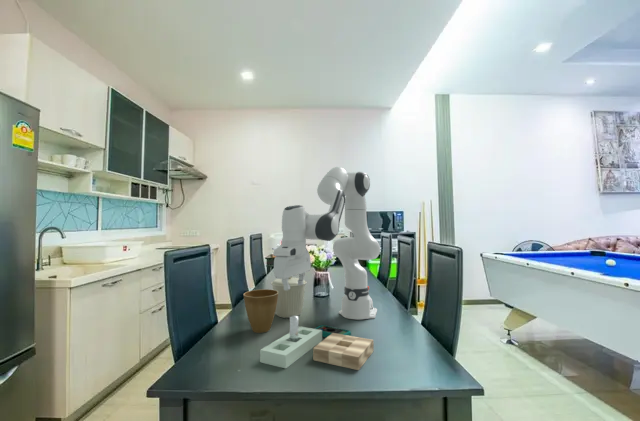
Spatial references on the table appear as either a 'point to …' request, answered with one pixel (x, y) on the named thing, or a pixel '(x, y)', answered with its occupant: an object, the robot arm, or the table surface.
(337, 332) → the digital multimeter
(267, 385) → the table surface
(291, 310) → the canister
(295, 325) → the steel peg
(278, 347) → the block
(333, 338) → the socket block
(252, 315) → the plant pot
